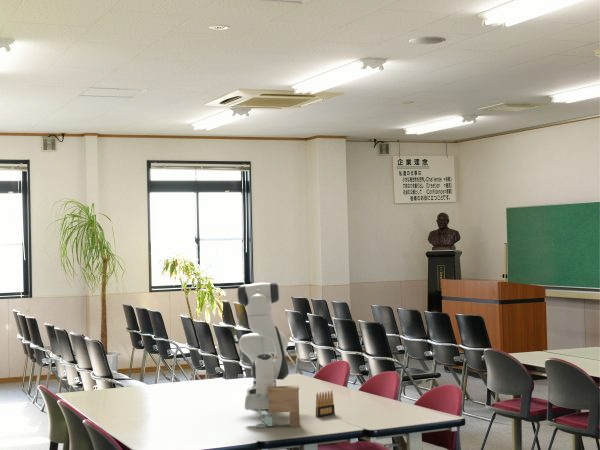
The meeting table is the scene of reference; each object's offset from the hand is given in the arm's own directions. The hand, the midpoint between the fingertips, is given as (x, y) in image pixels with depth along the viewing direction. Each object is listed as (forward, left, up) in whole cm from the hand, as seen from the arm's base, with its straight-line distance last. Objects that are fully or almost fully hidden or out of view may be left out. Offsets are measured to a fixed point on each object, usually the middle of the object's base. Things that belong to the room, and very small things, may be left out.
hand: (266, 418), depth 427 cm
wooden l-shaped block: (+9, +9, -2) cm, 12 cm away
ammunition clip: (-13, +29, -2) cm, 31 cm away
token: (+9, -2, -2) cm, 10 cm away
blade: (0, 0, -2) cm, 2 cm away
